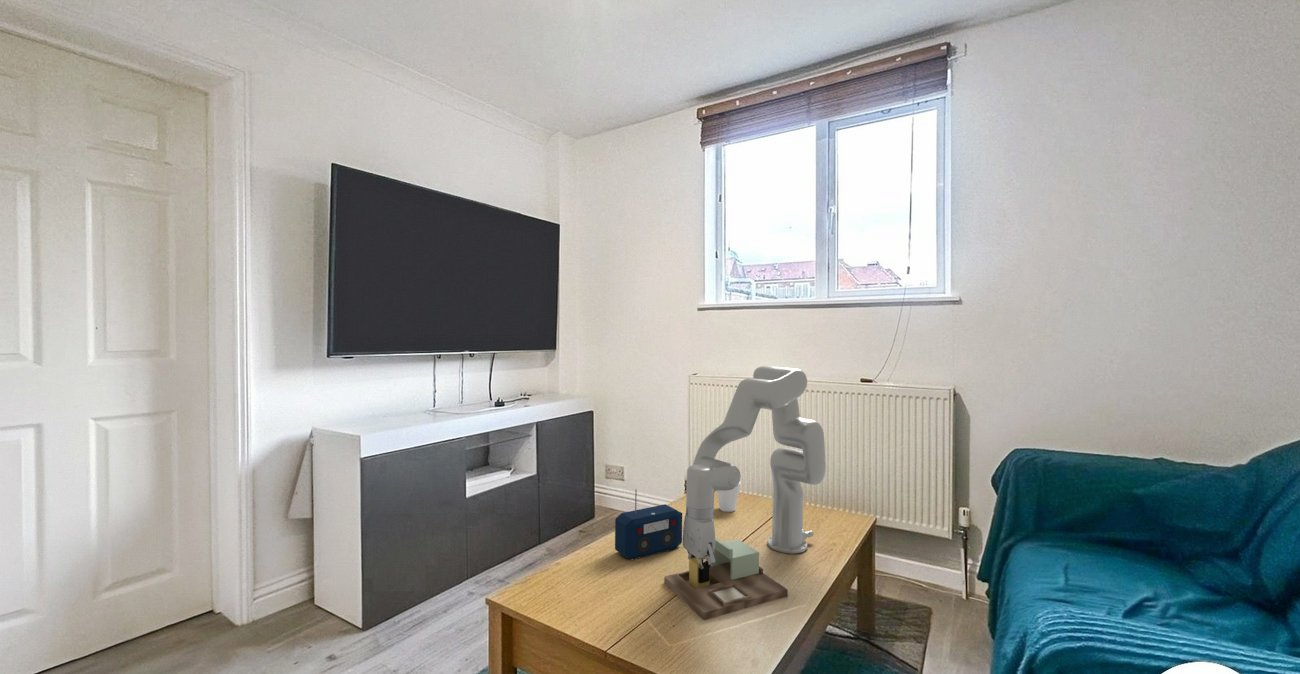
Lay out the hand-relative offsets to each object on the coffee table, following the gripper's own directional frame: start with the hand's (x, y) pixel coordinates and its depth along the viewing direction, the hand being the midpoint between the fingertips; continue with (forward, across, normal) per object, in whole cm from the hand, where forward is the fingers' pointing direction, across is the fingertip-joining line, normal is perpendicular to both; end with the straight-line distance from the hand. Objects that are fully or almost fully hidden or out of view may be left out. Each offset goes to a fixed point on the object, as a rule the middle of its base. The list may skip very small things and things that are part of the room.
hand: (699, 577), depth 142 cm
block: (+2, 0, 0) cm, 2 cm away
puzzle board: (+2, +5, +5) cm, 7 cm away
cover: (0, 0, +11) cm, 11 cm away
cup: (+3, -46, +42) cm, 62 cm away
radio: (+3, -26, -2) cm, 26 cm away
